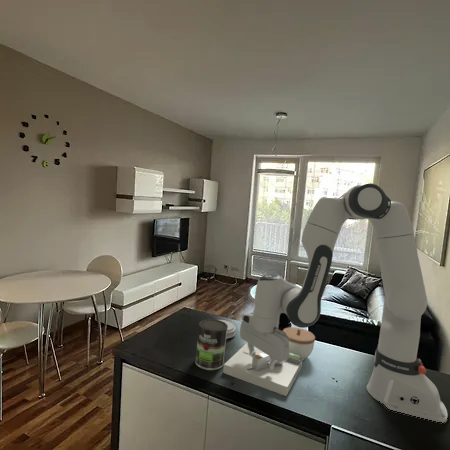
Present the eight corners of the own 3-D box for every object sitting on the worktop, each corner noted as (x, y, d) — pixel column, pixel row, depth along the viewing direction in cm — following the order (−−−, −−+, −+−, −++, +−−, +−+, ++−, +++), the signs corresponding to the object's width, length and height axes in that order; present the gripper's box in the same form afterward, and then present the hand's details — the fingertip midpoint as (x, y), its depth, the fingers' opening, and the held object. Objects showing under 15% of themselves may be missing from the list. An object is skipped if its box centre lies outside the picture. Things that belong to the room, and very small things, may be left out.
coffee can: (217, 373, 106) (221, 333, 105) (190, 365, 110) (193, 326, 109) (227, 360, 116) (231, 322, 115) (202, 352, 119) (205, 316, 118)
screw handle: (274, 355, 116) (275, 345, 115) (286, 363, 111) (288, 352, 111) (248, 364, 107) (249, 353, 107) (260, 373, 103) (261, 361, 102)
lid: (227, 343, 129) (228, 332, 129) (200, 335, 135) (202, 324, 134) (239, 333, 141) (240, 322, 140) (214, 325, 146) (215, 315, 146)
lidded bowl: (282, 345, 132) (285, 320, 131) (313, 353, 128) (316, 326, 127) (277, 359, 120) (280, 331, 119) (311, 367, 116) (314, 339, 115)
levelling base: (301, 368, 115) (303, 353, 115) (286, 396, 97) (288, 379, 97) (246, 350, 125) (247, 337, 125) (223, 372, 107) (224, 357, 107)
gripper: (295, 332, 100) (290, 374, 101) (251, 311, 116) (247, 347, 117) (282, 336, 96) (277, 380, 97) (238, 313, 112) (234, 351, 113)
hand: (260, 361), depth 107 cm, fingers open, 7 cm apart
